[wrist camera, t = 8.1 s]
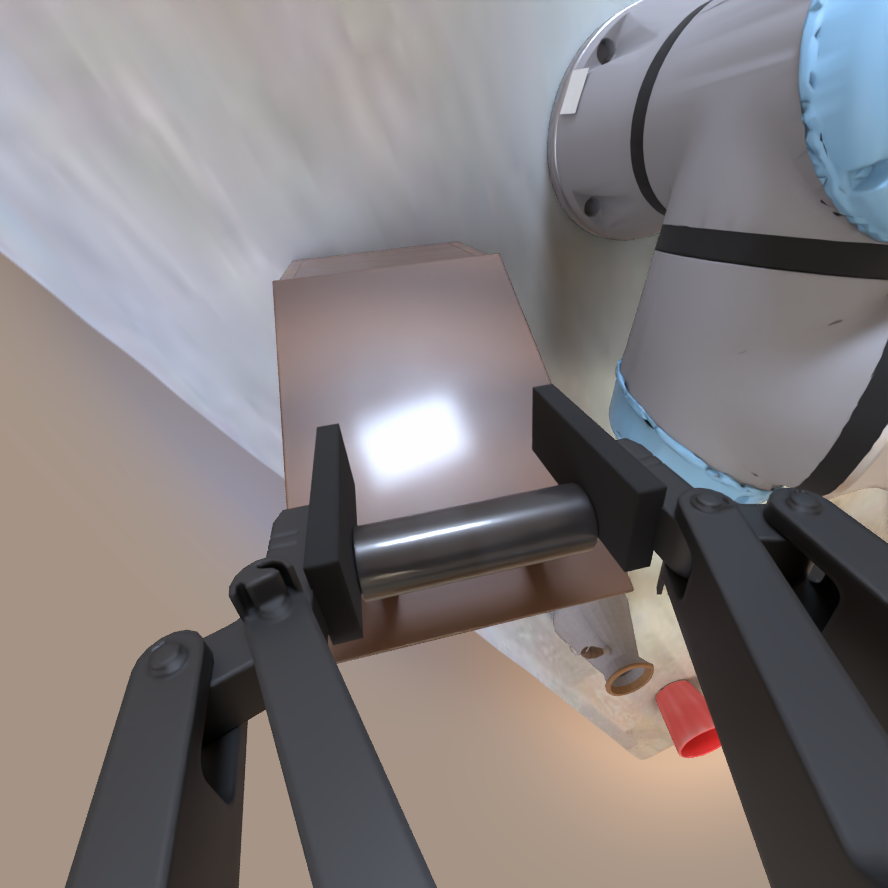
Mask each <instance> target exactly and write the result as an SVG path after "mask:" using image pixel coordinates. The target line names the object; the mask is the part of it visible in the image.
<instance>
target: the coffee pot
mask: <svg viewBox="0 0 888 888" xmlns="http://www.w3.org/2000/svg"><path fill="white" fill-rule="evenodd" d="M553 624H554V628H555V632H556V633H557V634H558V636H559V637H560V638H561V639H562V640H564V641H565V642H566V643H567V644H568V645H569V647H570V651H571V652H572V653H573V654H574V655H581V656H582V657H584V658H585V659H586V660H587V661H588V662H589V663H591V664H592V665H593V666H594V667H595V668H596V669H598V670H599V671H600V672H601V673H602V674H603V675H604V677H605V680H606V685H605V687H606V691H607V692H608V693H609V694H611V695H614V696H621V695H626V694H629V693H632V692H634V691H636V690H638V689H640V688H641V687H643V686H644V685H645V684H646V683H648V682H649V680H650V679H651V678H652V675H653V671H654V666H653V664H651V663H648V662H647V661H645V660H643V659H642V658H640V657H639V656H638V651H637V645H636V640H635V635H634V630H633V625H632V620H631V615H630V609H629V604H628V599H627V597H626V596H625V594H621V595H617V596H613V597H608V598H604V599H600V600H596V601H592V602H588V603H584V604H580V605H576V606H572V607H567V608H563V609H559V610H555V612H554V618H553ZM571 647H572V648H573V649H574V650H575V651H577V652H578V653H579V654H575V653H574V652H573V651H572V650H571Z"/></svg>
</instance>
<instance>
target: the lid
mask: <svg viewBox="0 0 888 888" xmlns="http://www.w3.org/2000/svg"><path fill="white" fill-rule="evenodd" d="M273 296H274V312H275V328H276V344H277V360H278V376H279V392H280V408H281V424H282V439H283V455H284V471H285V486H286V503H287V509H291V508H296V507H301V506H306V505H309V501H310V491H311V481H312V470H313V460H314V450H315V440H316V429H317V427H321V426H326V425H331V424H337V423H339V426H340V430H341V433H342V437H343V441H344V445H345V449H346V452H347V456H348V460H349V464H350V468H351V472H352V475H353V479H354V483H355V491H356V510H357V526H355V527H353V531H352V542H353V553H354V561H355V567H356V573H357V578H358V583H359V587H360V591H361V602H362V620H363V638H361V639H357V640H353V641H349V642H345V643H341V644H337V645H333V644H332V642H331V639H330V637H329V634H328V646H329V649H330V651H331V653H332V655H333V657H334V660H335V662H336V664H338V663H342V662H346V661H350V660H354V659H359V658H363V657H366V656H371V655H375V654H379V653H383V652H387V651H391V650H395V649H399V648H404V647H408V646H412V645H416V644H420V643H424V642H428V641H432V640H436V639H440V638H444V637H449V636H453V635H457V634H461V633H465V632H469V631H473V630H477V629H481V628H486V627H490V626H494V625H498V624H502V623H506V622H510V621H514V620H518V619H522V618H527V617H531V616H535V615H539V614H543V613H547V612H551V611H555V610H559V609H563V608H567V607H572V606H576V605H580V604H584V603H588V602H592V601H596V600H600V599H604V598H608V597H613V596H617V595H621V594H625V593H628V592H631V591H633V590H634V589H633V586H632V583H631V581H630V578H629V576H628V573H627V572H624V571H623V570H622V568H621V567H620V566H619V564H618V563H617V562H616V560H615V559H614V558H613V556H612V555H611V554H610V552H609V551H608V550H607V548H606V547H605V546H604V544H603V543H602V542H601V541H600V539H599V538H598V524H597V518H596V514H595V511H594V508H593V505H592V503H591V501H590V499H589V497H588V495H587V493H586V492H585V491H584V489H583V488H582V487H581V486H580V485H578V484H577V483H573V482H571V483H566V484H561V485H558V483H557V482H556V481H555V479H554V478H553V477H552V476H551V474H550V473H549V472H548V470H547V469H546V468H545V466H544V465H543V464H542V462H541V461H540V460H539V458H538V457H537V456H536V454H535V453H534V452H533V450H532V404H533V387H537V386H542V385H548V384H551V381H550V379H549V376H548V374H547V371H546V369H545V366H544V364H543V361H542V359H541V356H540V354H539V351H538V349H537V346H536V344H535V341H534V339H533V336H532V334H531V331H530V329H529V326H528V324H527V322H526V319H525V317H524V314H523V312H522V309H521V307H520V304H519V302H518V299H517V297H516V294H515V292H514V289H513V287H512V284H511V282H510V279H509V277H508V274H507V272H506V269H505V267H504V264H503V262H502V259H501V257H500V254H499V253H497V254H489V255H481V256H473V257H465V258H456V259H448V260H440V261H432V262H424V263H416V264H407V265H399V266H391V267H383V268H375V269H367V270H358V271H350V272H342V273H334V274H326V275H318V276H310V277H301V278H293V279H285V280H277V281H273Z"/></svg>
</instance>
